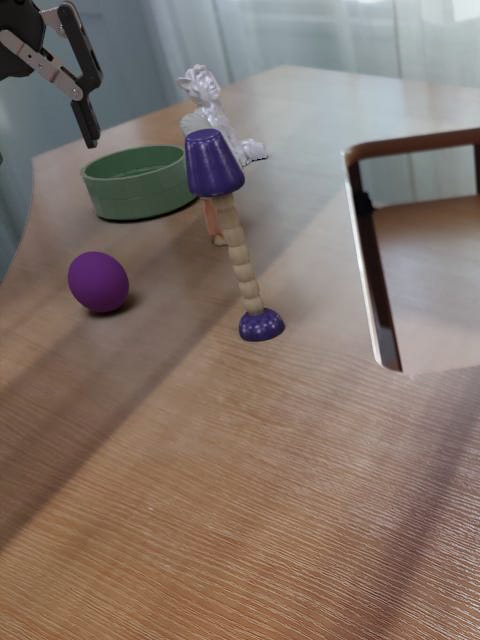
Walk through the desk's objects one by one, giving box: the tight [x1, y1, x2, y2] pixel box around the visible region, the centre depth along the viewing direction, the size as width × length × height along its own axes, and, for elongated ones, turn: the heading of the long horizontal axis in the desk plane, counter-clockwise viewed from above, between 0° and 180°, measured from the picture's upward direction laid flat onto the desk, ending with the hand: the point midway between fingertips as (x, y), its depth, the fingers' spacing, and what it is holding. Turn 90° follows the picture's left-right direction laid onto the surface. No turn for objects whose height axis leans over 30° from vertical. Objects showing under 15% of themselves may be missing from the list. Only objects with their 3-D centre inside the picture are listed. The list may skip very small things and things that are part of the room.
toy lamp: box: [184, 129, 286, 342], centre depth 75 cm, size 5×5×17 cm
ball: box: [67, 250, 130, 313], centre depth 86 cm, size 6×6×6 cm
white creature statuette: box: [176, 63, 268, 171], centre depth 115 cm, size 10×9×12 cm
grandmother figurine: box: [179, 112, 228, 247], centre depth 95 cm, size 8×4×13 cm, turn 6°
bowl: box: [79, 143, 197, 221], centre depth 109 cm, size 13×13×5 cm
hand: (45, 155), depth 78 cm, fingers open, 8 cm apart
